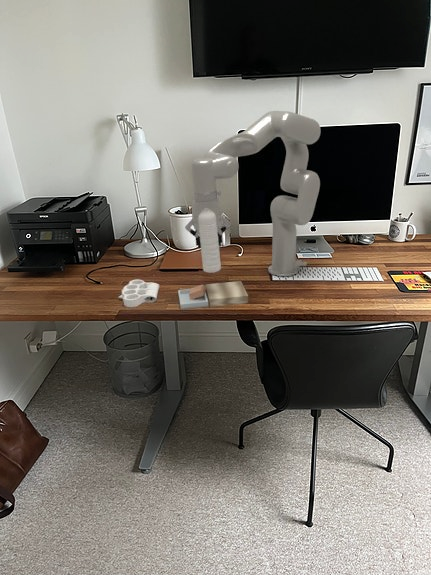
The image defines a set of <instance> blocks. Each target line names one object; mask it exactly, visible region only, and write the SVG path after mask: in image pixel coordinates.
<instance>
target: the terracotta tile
mask: <svg viewBox="0 0 431 575" xmlns="http://www.w3.org/2000/svg"><path fill="white" fill-rule="evenodd" d="M190 289H191V290H190V293H189V296H190V298H191V300H192V299H195V298H198V297H201V296H204V293H205V292H206V291H205V290H206V289H205V284H204V283H202V284H200V285H197V286H194V287H191V288H190Z"/></svg>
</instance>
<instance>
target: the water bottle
mask: <svg viewBox="0 0 431 575" xmlns="http://www.w3.org/2000/svg"><path fill="white" fill-rule="evenodd" d="M198 221H199V236H200V243H201V248H200V254H201V261H202V270H203V272H206V273H208V274H210V273H212V274H214V273H216V272H219V271H221V269H222V264H221V255H220V254H221V253H220V252H221V251H220V246H219V242H218V231H217V225H216V224H217V223H216V215H215V214H214V212H213V211H211V210H210V209H209V208H204V209H203V210H202V212H201V213H200V215H199V217H198Z"/></svg>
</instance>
